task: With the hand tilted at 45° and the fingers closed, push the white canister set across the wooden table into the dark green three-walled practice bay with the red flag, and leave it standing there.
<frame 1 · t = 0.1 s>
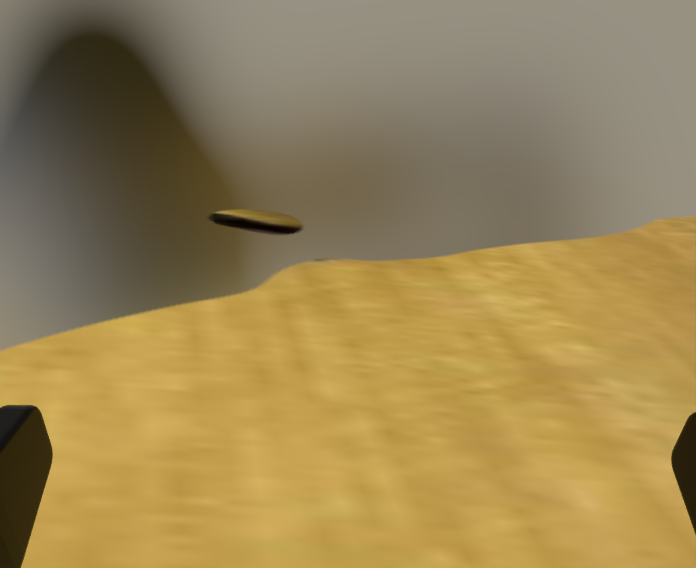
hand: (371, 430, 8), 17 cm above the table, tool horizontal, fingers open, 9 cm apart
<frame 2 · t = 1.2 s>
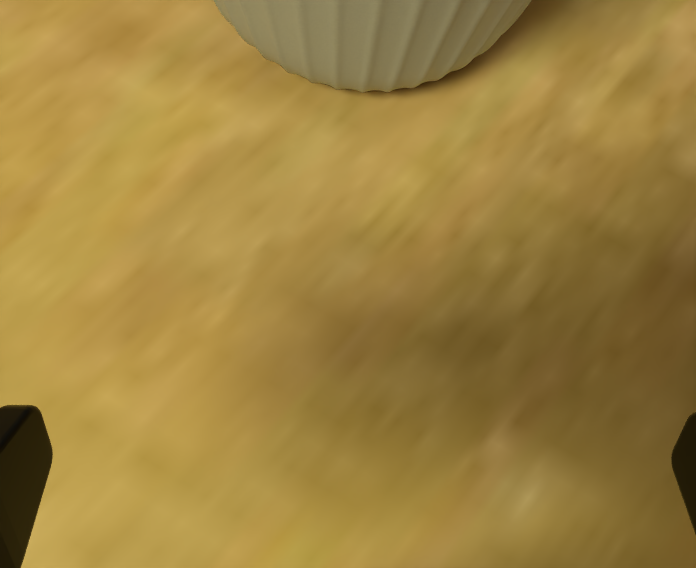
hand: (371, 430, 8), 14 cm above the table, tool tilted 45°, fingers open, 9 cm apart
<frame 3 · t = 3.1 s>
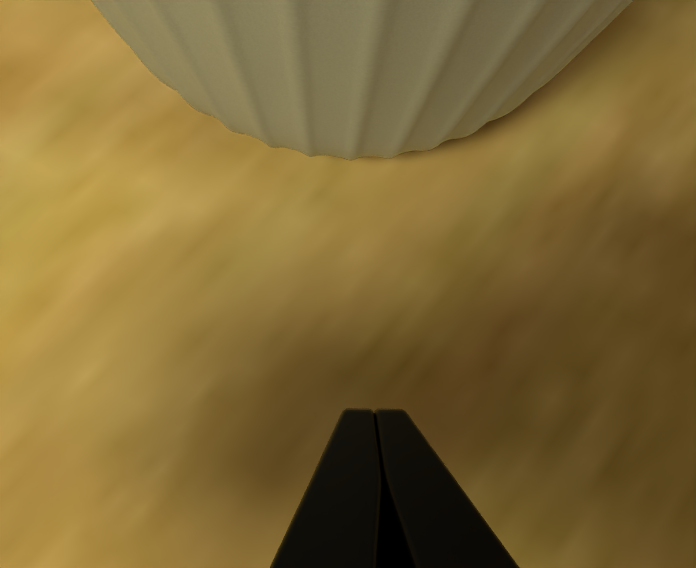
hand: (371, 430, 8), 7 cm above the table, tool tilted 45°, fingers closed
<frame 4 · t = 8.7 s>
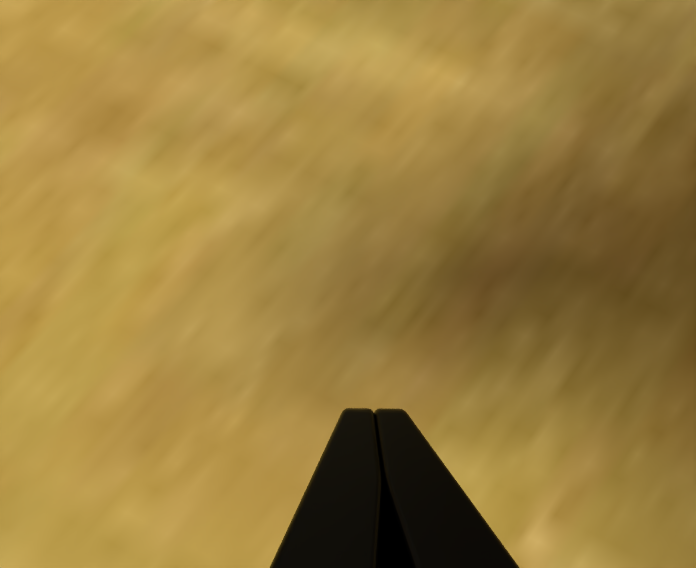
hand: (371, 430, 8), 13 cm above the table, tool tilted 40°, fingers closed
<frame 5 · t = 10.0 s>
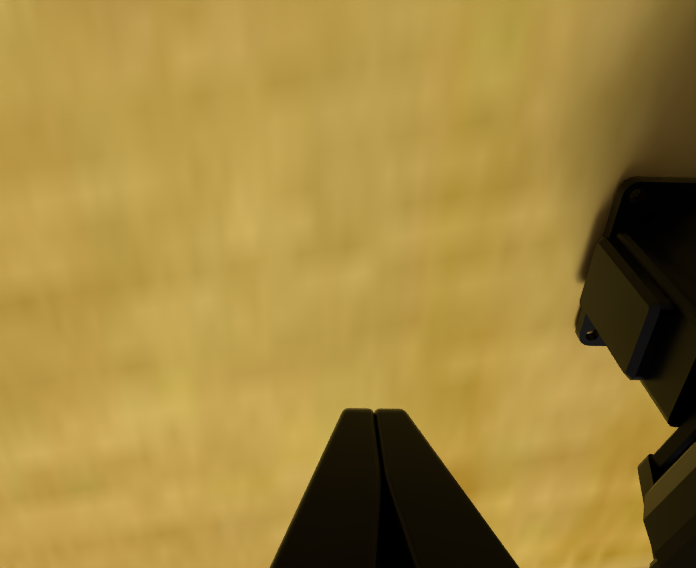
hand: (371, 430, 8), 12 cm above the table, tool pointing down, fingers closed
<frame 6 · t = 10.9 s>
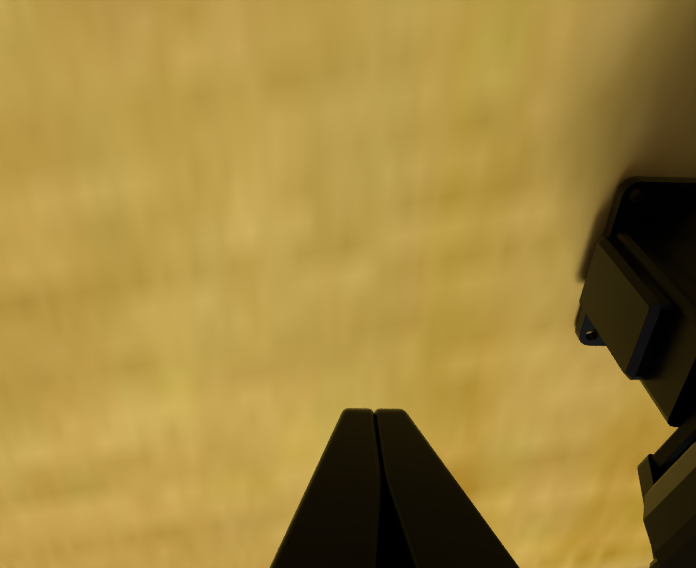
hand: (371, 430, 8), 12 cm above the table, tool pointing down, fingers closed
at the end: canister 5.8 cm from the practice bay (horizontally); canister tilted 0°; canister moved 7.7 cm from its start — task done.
